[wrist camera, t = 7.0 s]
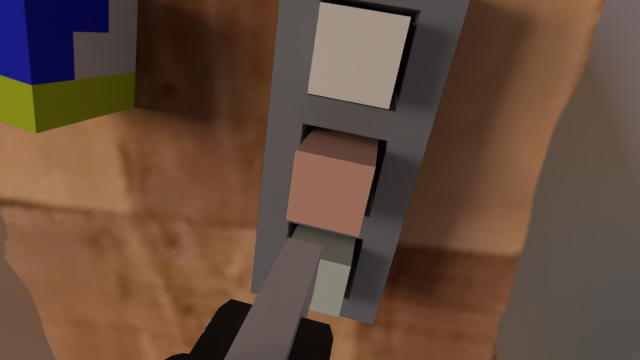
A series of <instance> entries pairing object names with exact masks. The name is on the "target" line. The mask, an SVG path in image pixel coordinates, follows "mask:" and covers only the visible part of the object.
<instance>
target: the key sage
mask: <svg viewBox="0 0 640 360" xmlns="http://www.w3.org/2000/svg"><path fill="white" fill-rule="evenodd" d="M291 238H293V239H297V240H301V241H305V242H309V243H313V244H317V245H321V246H323V247H322V252H321V257H320V262H319V267H318V272H317V277H316V282H315V288H314V293H313V297H312V301H311V304H310V307H309V310H313V311H316V312H320V313H324V314H328V315H331V316H335V317H339V314H340V310H341V305H342V301H343V297H344V293H345V289H346V285H347V280H348V276H349V272H350V268H351V263H352V257H353V251H354V245H355V239H356V238H354V237H350V236H346V235H342V234H338V233H333V232H329V231H325V230H321V229H317V228H313V227H308V226H304V225H300V224H298V225H297V227H296V229H295V231H294V233H293V235H292V237H291Z"/></svg>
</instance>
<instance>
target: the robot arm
mask: <svg viewBox="0 0 640 360" xmlns="http://www.w3.org/2000/svg"><path fill="white" fill-rule="evenodd" d="M322 247H323V246H321V245H317V244H313V243H309V242H305V241H301V240H297V239H293V238H289V237H288V238H287V240H286V242H285V244H284V246H283V248H282V250H281V252H280V254H279V256H278V257H277V259H276V261H275V263H274V265H273V267H272V269H271V271H270V273H269V275H268V277H267V278H266V280H265V282H264V284H263V286H262V288H261V290H260V292H259V294H258V296H257V298H256V300H255V301H254V303H253V305H251V304H248V303H244V302H240V301H237V300H233V299H231V300H229V301H228V302H227V303H225V304H224V305H222V306H221V307H220V308H219V309H218V310H217V312H216V313H215V315H214V316H213V318H212V320H211V322H210V323H209V324H208V326H207V327H206V329H205V331H204V333H202V335H201V337H200V338H199V340H198V341H197V343H196V344H195V346H194V347H193V349H192V351H191V352H190V354H185V353H182V354H177V355H173V356H171V357H169V358H167V359H165V360H329V359H330V354H331V348H332V343H333V335H332V331H331V328H330V325H329V324H325V323H321V322H318V321H314V320H310V319H307V318H306V317H307V314H308V311H309V307H310V304H311V301H312V297H313V293H314V288H315V282H316V277H317V272H318V267H319V262H320V257H321V252H322Z"/></svg>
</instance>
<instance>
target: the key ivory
mask: <svg viewBox="0 0 640 360" xmlns="http://www.w3.org/2000/svg"><path fill="white" fill-rule="evenodd" d="M410 19H411V17H408V16H402V15H396V14H390V13H384V12H378V11H372V10H366V9H360V8H354V7H348V6H342V5H335V4H329V3H323V2H320V7H319V14H318V21H317V28H316V36H315V43H314V50H313V57H312V64H311V71H310V78H309V85H308V92H307V93H309V94H314V95H319V96H324V97H329V98H334V99H340V100H345V101H350V102H355V103H360V104H365V105H370V106H375V107H380V108H385V109H389V106H390V102H391V98H392V94H393V90H394V85H395V81H396V77H397V73H398V69H399V65H400V61H401V56H402V52H403V48H404V44H405V40H406V36H407V31H408V27H409V23H410Z"/></svg>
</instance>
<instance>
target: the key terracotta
mask: <svg viewBox="0 0 640 360" xmlns="http://www.w3.org/2000/svg"><path fill="white" fill-rule="evenodd" d="M378 141H379V139H376V138H371V137H367V136H362V135H357V134H352V133H347V132H342V131H338V130H333V129H328V128H323V127H318V126H316V127H315V128H314V129H313V130H312V131H311V133H310V134H309V135H308V136H307V137H306V138H305V140H304V141H303V142H302V143H301V144H300V145H299V147H298V148H297V149H296V150H295V157H294V165H293V172H292V179H291V187H290V194H289V201H288V209H287V216H286V220H290V221H294V222H298V223H303V224H307V225H311V226H315V227H319V228H323V229H328V230H332V231H336V232H340V233H344V234H349V235H353V236H357V237H359V234H360V230H361V225H362V221H363V217H364V213H365V209H366V205H367V201H368V197H369V192H370V188H371V184H372V180H373V176H374V172H375V168H376V159H377V150H378Z"/></svg>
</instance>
